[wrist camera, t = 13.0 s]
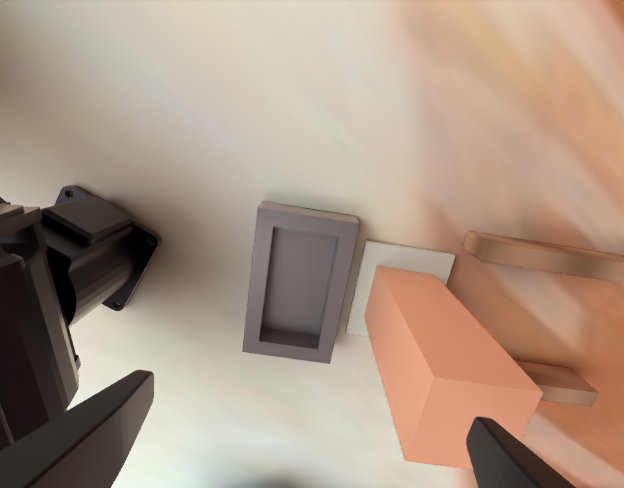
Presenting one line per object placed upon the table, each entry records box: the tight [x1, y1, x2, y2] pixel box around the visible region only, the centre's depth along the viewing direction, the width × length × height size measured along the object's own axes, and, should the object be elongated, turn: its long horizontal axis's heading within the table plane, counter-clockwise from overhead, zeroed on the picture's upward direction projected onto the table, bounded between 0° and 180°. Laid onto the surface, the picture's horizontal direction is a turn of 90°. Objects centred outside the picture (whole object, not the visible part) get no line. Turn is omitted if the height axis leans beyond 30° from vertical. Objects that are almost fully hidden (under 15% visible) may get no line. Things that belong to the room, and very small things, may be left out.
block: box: [364, 265, 543, 470], centre depth 17 cm, size 4×4×10 cm
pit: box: [242, 201, 360, 364], centre depth 21 cm, size 6×10×2 cm, turn 171°
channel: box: [463, 231, 624, 407], centre depth 21 cm, size 11×10×2 cm
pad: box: [345, 240, 455, 337], centre depth 22 cm, size 6×7×1 cm
